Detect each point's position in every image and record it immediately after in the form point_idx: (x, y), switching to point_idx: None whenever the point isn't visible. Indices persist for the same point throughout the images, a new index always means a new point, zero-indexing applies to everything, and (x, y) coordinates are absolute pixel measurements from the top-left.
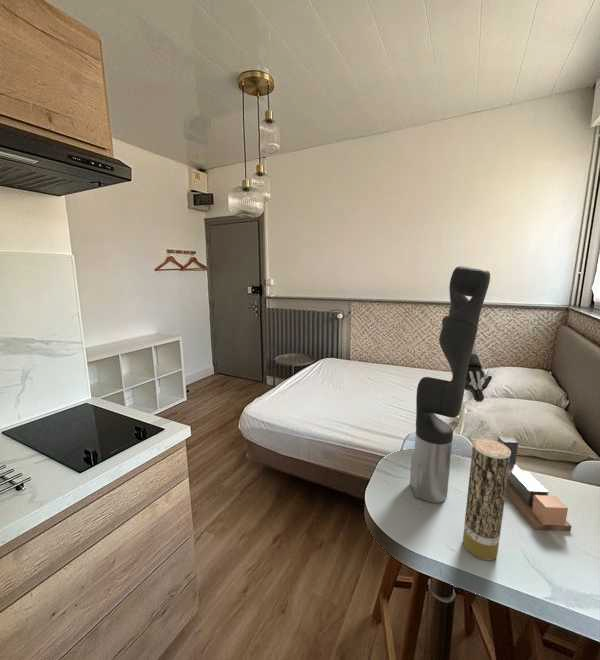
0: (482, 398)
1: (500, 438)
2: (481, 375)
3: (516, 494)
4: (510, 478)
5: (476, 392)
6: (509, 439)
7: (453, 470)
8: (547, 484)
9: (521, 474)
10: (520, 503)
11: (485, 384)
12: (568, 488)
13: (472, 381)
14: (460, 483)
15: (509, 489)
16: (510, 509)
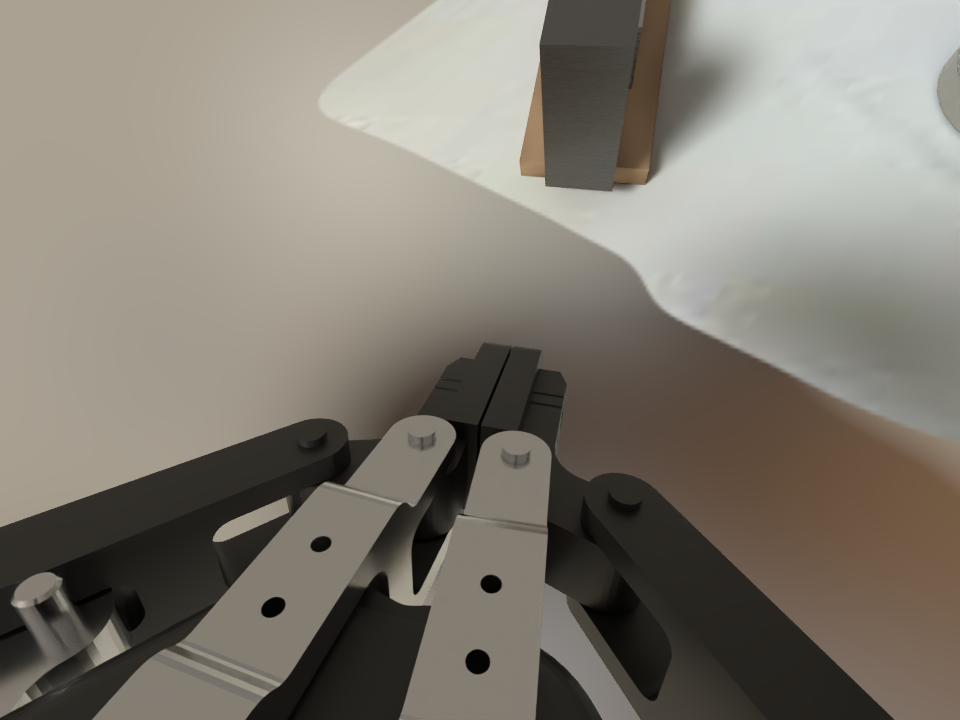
0: (487, 345)
1: (635, 28)
2: (74, 713)
3: (641, 43)
4: (636, 55)
5: (523, 418)
6: (580, 19)
7: (819, 229)
8: (439, 133)
9: None
10: (662, 3)
11: (263, 463)
12: (381, 113)
13: (532, 545)
14: (830, 143)
15: (649, 66)
16: (697, 20)
